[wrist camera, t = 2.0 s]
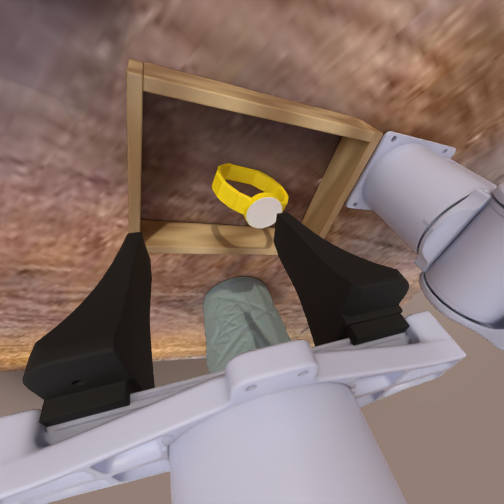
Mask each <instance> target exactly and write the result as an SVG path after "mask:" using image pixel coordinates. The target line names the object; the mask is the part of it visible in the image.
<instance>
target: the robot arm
mask: <svg viewBox="0 0 504 504" xmlns="http://www.w3.org/2000/svg"><path fill="white" fill-rule="evenodd" d="M393 137H394V138H393ZM392 138H393V139H392ZM455 151H456V149H455V148H454V147H451V146H447V145H443V144H440V143H436V142H432V141H428V140H424V139H420V138H416V137H412V136H408V135H404V134H400V133H396V132H392V131H388V132H386V133H385V134H384V136H383V138H382V139H381V141H380V143H379V145H378V146H377V148H376V150H375V152H374V153H373V155H372V157H371V159H370V160H369V162H368V164H367V166H366V167H365V169H364V171H363V173H362V174H361V176H360V178H359V180H358V181H357V183H356V185H355V187H354V188H353V190H352V192H351V194H350V195H349V197H348V199H347V201H346V203H345V205H346V207H347V208H353V209H363V210H373V211H374V212H375V213H376V214H377V215H378V216H379V217H380V218H381V219H382V220H383V221H384V222H385V223H386V224H387V225H388V226H389V227H390V228H391V229H392V230H393V231H394V232H395V233H396V234H397V235H398V236H399V237H400V238H401V239H402V240H403V241H404V242H405V243H406V244H407V245H408V246H409V247H410V248H411V249H412V250H413V251H414V252H415V253H416V254H417V255H418V257H417V259H416V260H415V261H414V263H415V264H416V265H417V266H418V267H419V268H420V269H421V270H422V272H421V273H420V275H419V284H420V287H421V289H422V291H423V293H424V295H425V297H426V298H427V299H428V301H429V302H430V303H431V304H432V305H433V306H434V307H435V308H436V309H437V310H438V311H439V312H441V313H442V314H443V315H444V316H446V317H447V318H449V319H451V320H453V321H455V322H457V323H459V324H461V325H464V326H465V327H467V328H469V329H471V330H473V331H474V332H476V333H478V334H479V335H480V336H482V337H483V338H485V339H486V340H488V341H489V342H490V343H492V344H493V345H494V346H495V347H497V348H498V349H500V350H503V351H504V183H503V184H500V185H499V186H498V187H497V186H496V185H495V184H493V183H491V182H489V181H488V180H486V179H484V178H482V177H481V176H479V175H477V174H476V173H474V172H472V171H470V170H469V169H467V168H465V167H463V166H462V165H460V164H458V163H456V162H455V161H453V160H451V157H452V156H453V155H454V153H455ZM273 242H274V245H275V248H276V250H277V253H278V256H279V258H280V260H281V262H282V264H283V266H284V268H285V270H286V272H287V274H288V275H289V277H290V279H291V281H292V283H293V285H294V287H295V289H296V292H297V294H298V297H299V299H300V302H301V305H302V307H303V310H304V313H305V316H306V319H307V322H308V325H309V328H310V331H311V334H312V337H313V341H314V344H315V347H312V348H311V346H310V344H309V342H307V341H304V340H301V339H299V340H291V341H287V342H283V343H279V344H275V345H271V346H267V347H263V348H259V349H255V350H251V351H247V352H244V353H241V354H238V355H236V356H235V357H233V358H232V359H230V360H229V361H228V363H227V365H226V367H225V370H222V371H218V372H214V373H210V374H206V375H202V376H199V377H195V378H191V379H187V380H183V381H179V382H175V383H171V384H167V385H163V386H160V387H156V388H155V385H154V375H153V364H152V351H151V337H150V299H151V280H152V276H151V263H150V258H149V255H148V251H147V248H146V245H145V242H144V238H143V235H142V232H134V233H128V234H127V236H126V238H125V240H124V242H123V244H122V246H121V248H120V250H119V252H118V254H117V256H116V257H115V259H114V261H113V263H112V264H111V266H110V267H109V269H108V270H107V272H106V273H105V275H104V276H103V278H102V279H101V281H100V282H99V283H98V285H97V286H96V287H95V288H94V290H93V291H92V292H91V293H90V294H89V296H88V297H87V298H86V299H85V300H84V301H83V302H82V303H81V304H80V305H79V306H78V307H77V308H76V309H75V310H74V311H73V312H72V313H71V314H70V315H69V316H68V317H67V318H66V319H65V320H64V321H62V322H61V323H60V324H59V325H58V326H57V327H55V328H54V329H53V330H51V331H50V332H49V333H48V334H46V335H45V336H44V337H43V338H41V339H40V340H39V341H37V342H36V343H35V345H34V348H33V350H32V352H31V354H30V357H29V360H28V363H27V366H26V369H25V373H24V376H23V384H24V385H25V386H26V387H27V388H28V389H29V390H31V391H32V392H34V393H35V394H37V395H38V396H39V397H41V398H42V399H44V403H43V407H42V410H40V409H32V410H26V411H22V412H18V413H14V414H10V415H6V416H2V417H0V504H47V503H50V502H54V501H57V500H61V499H64V498H67V497H71V496H75V495H79V494H83V493H86V492H90V491H94V490H98V489H102V488H106V487H110V486H114V485H118V484H122V483H126V482H130V481H134V480H138V479H141V478H145V477H149V476H153V475H157V474H161V473H165V472H169V471H170V479H171V500H172V504H407V502H406V500H405V498H404V496H403V494H402V492H401V490H400V488H399V486H398V484H397V482H396V480H395V478H394V476H393V474H392V472H391V470H390V468H389V466H388V464H387V462H386V460H385V458H384V457H383V454H382V452H381V450H380V449H379V447H378V444H377V442H376V440H375V438H374V436H373V434H372V432H371V430H370V428H369V426H368V424H367V422H366V420H365V419H364V416H363V415H362V412H361V410H360V408H361V407H363V406H366V405H368V404H370V403H373V402H375V401H378V400H380V399H383V398H385V397H388V396H390V395H393V394H395V393H398V392H400V391H403V390H405V389H408V388H411V387H413V386H416V385H419V384H421V383H425V382H428V381H431V380H433V379H437V378H438V377H440V376H441V375H442V374H444V373H445V372H446V371H448V370H449V369H450V368H452V367H453V366H454V365H456V364H457V363H458V362H459V361H461V360H462V359H463V358H464V357H466V354H465V353H464V352H463V350H462V349H461V348H460V347H459V346H458V345H457V343H456V342H455V341H454V340H453V339H452V338H451V337H450V335H449V334H448V333H447V332H446V331H445V330H444V328H443V327H442V326H441V325H440V324H439V323H438V321H437V320H436V319H435V318H434V317H433V316H432V314H431V313H430V312H429V311H424V312H420V313H416V314H411V315H409V316H407V317H405V318H403V316H402V315H401V314H400V313H401V312H402V309H401V307H400V306H399V303H400V302H401V300H402V299H403V298H404V296H405V295H406V293H407V291H408V289H409V283H408V281H407V280H406V279H405V278H404V277H403V276H402V275H401V273H400V272H399V271H398V270H397V269H393V268H390V267H386V266H383V265H379V264H376V263H373V262H370V261H368V260H365V259H362V258H360V257H357V256H355V255H353V254H351V253H348V252H346V251H344V250H342V249H340V248H339V247H337V246H335V245H333V244H331V243H330V242H328V241H326V240H325V239H323V238H322V237H320V236H319V235H317V234H316V233H314V232H313V231H312V230H310V229H309V228H307V227H306V226H305V225H303V224H302V223H301V222H300V221H298V220H297V219H296V218H294V217H293V216H292V215H290V214H289V213H288V212H284V213H277V217H276V224H275V232H274V240H273Z"/></svg>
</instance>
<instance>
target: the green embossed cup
mask: <svg viewBox="0 0 504 504" xmlns="http://www.w3.org/2000/svg"><path fill="white" fill-rule="evenodd" d="M203 309H204V325H205V331H206V332H205V336H206V339H207V340H206V346H207V349H206V353H207V367H208V369H209V373H208V374H210V373H214V372H218V371H222V370H225V367H226V365H227V363H228V361H229V360H230V359H232V358H233V357H235V356H236V355H238V354H241V353H244V352H247V351H251V350H255V349H259V348H263V347H267V346H271V345H275V344H279V343H283V342H287V341H291V340H290V338H289V335H288V334H287V332H286V327H285V325H284V323H283V321H282V320H281V317H280V314H279V313H278V311H277V309H276V308H275V307H274V305H273V300H272V297H271V295H270V293H269V291H268V289H267V287H266V285H265V284H264V283H263V282H262V281H260V280H259V279H257V278H253V277H235V278H231V279H227V280H225V281H223V282H221V283H219V284H217V285H216V286H214V287H213V288H212V289H211V290H210V291H209V292H208V293H207V295H206V296H205V298H204V303H203Z"/></svg>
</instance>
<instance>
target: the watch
mask: <svg viewBox="0 0 504 504" xmlns="http://www.w3.org/2000/svg"><path fill="white" fill-rule="evenodd" d="M225 179H226V180H231V181H236V182H241V183H246V184H251V185H253V186H254V187H256V188H258V189H260V190H262V191H264V192H263V193H259V194H257V195H255V196H253V197H252V198H251V197H249V196H247V195H245V194H243V193H239V191H237V190H236V189H235V188H233V187H232V186H231V185H230V184H228V183H227V182H226V181H225ZM212 189H213V191H214V193H215V194H216V196H217V198H219V200H220V201H222V202H223V203H224V204H225V205H227V206H228V207H229V208H231V209H233V210H234V211H236V212H238V213H241V214H243V215H244V217H245V219H246V221H247V223H248V224H249V225H250V226H251V227H254V228H265V227H268V226H270V225H272V224H274V223H275V222H276V217H277V213H282V212H283V210H284V209H285V207H286V205H287V203H288V194H287V193H286V191H285V190H284V188H283V187H282V186H281V185H280V184H279V183H278V182H276V181H275V180H274V179H273V178H270V176H268V175H266V174H264V173H262V172H260V171H259V170H254V169H250V168H246V167H241V166H237V165H233V164H231V163H227V164H223V165H220V166H218V169H217V172H216V175H215V178H214V181H213V184H212Z"/></svg>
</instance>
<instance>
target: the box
mask: <svg viewBox="0 0 504 504" xmlns="http://www.w3.org/2000/svg"><path fill="white" fill-rule="evenodd" d="M126 83H127V148H128V213H129V233H134V232H142V235H143V238H144V242H145V245H146V248H147V251H148V253H176V254H244V255H278V253H277V250H276V248H275V245H274V242H273V240H274V232H275V228H273V227H265V228H254V227H251V226H238V225H220V224H203V223H186V222H168V221H151V220H141V171H142V117H143V91H144V92H148V93H152V94H157V95H161V96H166V97H170V98H175V99H179V100H184V101H188V102H193V103H197V104H201V105H206V106H210V107H215V108H219V109H224V110H228V111H233V112H237V113H242V114H246V115H250V116H255V117H259V118H264V119H268V120H273V121H277V122H282V123H286V124H291V125H295V126H299V127H304V128H308V129H313V130H317V131H322V132H326V133H331V134H335V135H340V136H342V138H341V140H340V142H339V144H338V146H337V149H336V151H335V153H334V155H333V157H332V159H331V161H330V163H329V165H328V167H327V170H326V172H325V174H324V176H323V178H322V180H321V182H320V184H319V186H318V188H317V191H316V193H315V195H314V197H313V199H312V201H311V203H310V205H309V207H308V210H307V212H306V214H305V216H304V218H303V220H302V222H301V223H302V224H303V225H305V226H306V227H307V228H309V229H310V230H312V231H313V232H314V233H316V234H317V235H319V236H320V237H322V238H323V239H324V238H325V236H326V235H327V233H328V231H329V229H330V227H331V226H332V224H333V222H334V220H335V219H336V217H337V215H338V213H339V212H340V210H341V208H342V206H343V205H344V203H345V201H346V199H347V197H348V196H349V194H350V192H351V190H352V189H353V187H354V185H355V183H356V182H357V180H358V178H359V176H360V175H361V173H362V171H363V169H364V167H365V166H366V164H367V162H368V160H369V159H370V157H371V155H372V153H373V152H374V150H375V148H376V146H377V145H378V143H379V141H380V139H381V137H382V136H383V133H381V132H379V131H378V130H376V129H375V128H373V127H372V126H370V125H368V124H367V123H365V122H364V121H362V120H361V119H359V118H356V117H351V116H348V115H344V114H340V113H336V112H333V111H329V110H325V109H321V108H317V107H314V106H310V105H306V104H302V103H298V102H295V101H291V100H287V99H283V98H279V97H276V96H272V95H268V94H264V93H260V92H257V91H253V90H249V89H245V88H241V87H238V86H234V85H230V84H226V83H222V82H219V81H215V80H211V79H207V78H203V77H200V76H196V75H192V74H188V73H184V72H181V71H177V70H173V69H169V68H165V67H162V66H158V65H154V64H150V63H146V62H144V64H143V62H142V61H139V60H135V59H131V58H130V59H129V62H128V67H127V72H126Z"/></svg>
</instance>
